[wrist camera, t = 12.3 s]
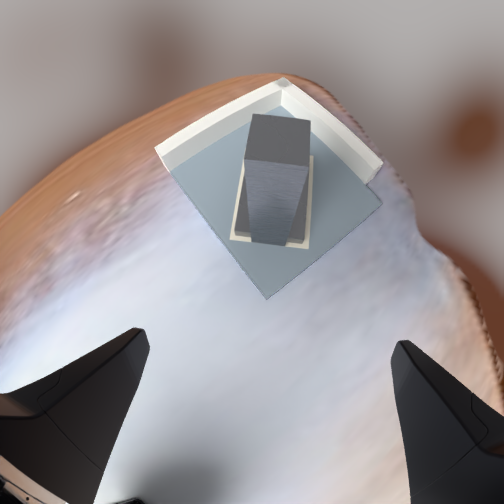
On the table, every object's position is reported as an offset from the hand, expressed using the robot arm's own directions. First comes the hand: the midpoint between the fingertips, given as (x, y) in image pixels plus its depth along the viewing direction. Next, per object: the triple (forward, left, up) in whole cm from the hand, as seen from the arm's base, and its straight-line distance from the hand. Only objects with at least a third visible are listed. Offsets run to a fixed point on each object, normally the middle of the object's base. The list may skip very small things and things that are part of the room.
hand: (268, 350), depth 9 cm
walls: (+10, +12, -13) cm, 20 cm away
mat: (+9, +10, -13) cm, 19 cm away
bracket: (+8, +9, -13) cm, 17 cm away
